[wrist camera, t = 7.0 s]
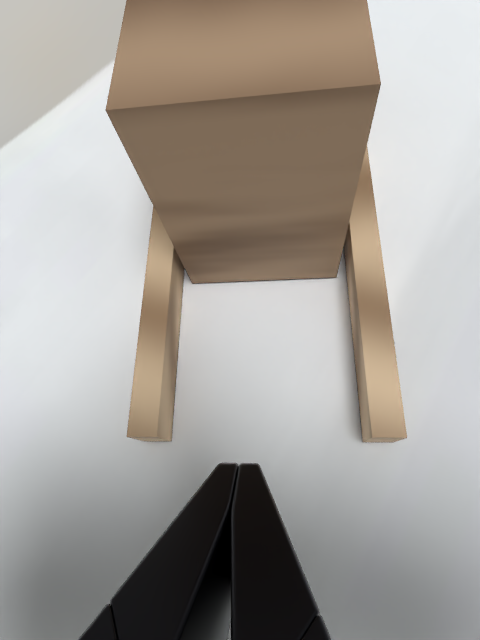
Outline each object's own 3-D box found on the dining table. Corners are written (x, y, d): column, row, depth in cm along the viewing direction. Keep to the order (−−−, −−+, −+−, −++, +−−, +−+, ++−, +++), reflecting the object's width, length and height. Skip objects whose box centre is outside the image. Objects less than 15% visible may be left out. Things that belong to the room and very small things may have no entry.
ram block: (336, 277, 19) (380, 83, 10) (192, 283, 20) (105, 109, 10) (326, 162, 21) (354, -77, 12) (199, 171, 22) (135, -46, 13)
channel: (393, 442, 16) (574, 378, 6) (144, 441, 17) (-68, 386, 7) (345, 57, 24) (385, -243, 14) (180, 74, 26) (108, -192, 15)
